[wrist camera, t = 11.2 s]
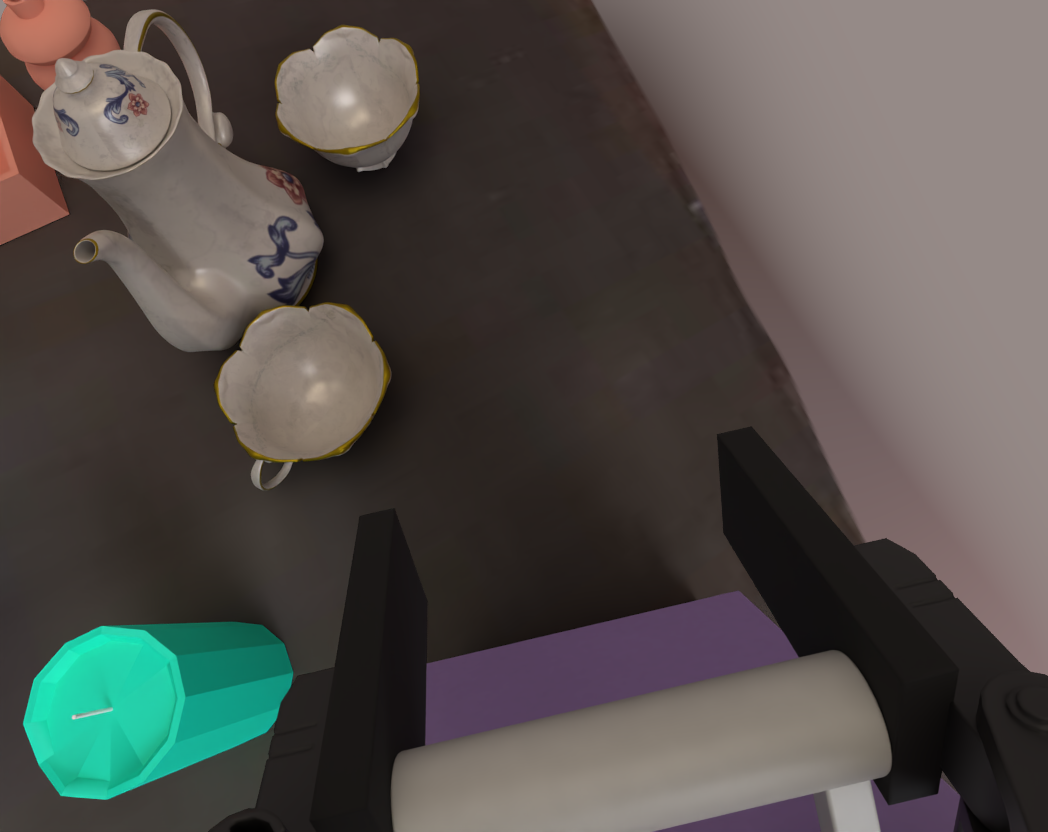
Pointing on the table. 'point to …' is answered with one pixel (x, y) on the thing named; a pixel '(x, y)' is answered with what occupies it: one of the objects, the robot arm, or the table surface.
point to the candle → (151, 701)
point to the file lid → (655, 735)
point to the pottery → (6, 116)
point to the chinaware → (237, 222)
